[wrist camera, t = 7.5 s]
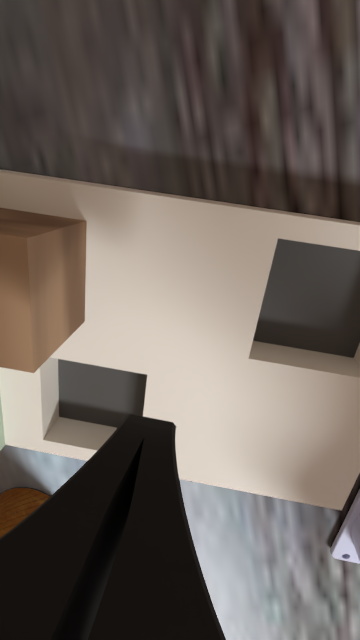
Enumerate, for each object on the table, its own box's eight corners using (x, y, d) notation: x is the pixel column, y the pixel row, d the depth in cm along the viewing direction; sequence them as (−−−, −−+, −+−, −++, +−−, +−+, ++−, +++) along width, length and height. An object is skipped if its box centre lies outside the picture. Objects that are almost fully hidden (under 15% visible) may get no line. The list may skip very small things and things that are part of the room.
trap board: (433, 233, 16) (507, 251, 12) (329, 476, 22) (353, 544, 18) (-8, 167, 17) (-82, 163, 13) (13, 416, 23) (-32, 466, 19)
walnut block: (86, 220, 15) (27, 238, 10) (84, 321, 17) (33, 373, 12) (-19, 204, 15) (-123, 214, 11) (-9, 305, 17) (-92, 350, 13)
